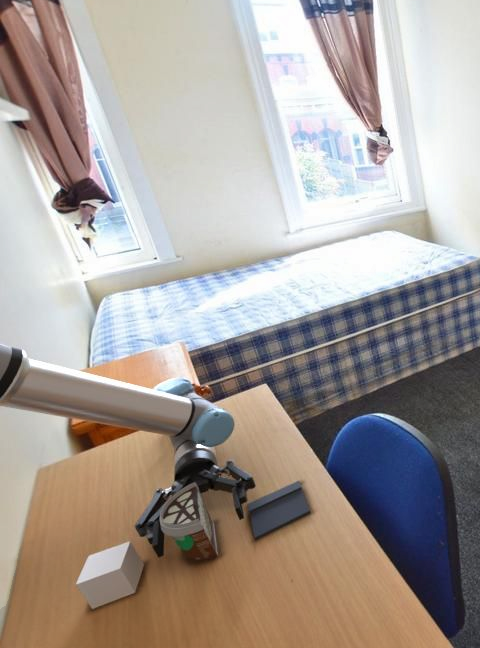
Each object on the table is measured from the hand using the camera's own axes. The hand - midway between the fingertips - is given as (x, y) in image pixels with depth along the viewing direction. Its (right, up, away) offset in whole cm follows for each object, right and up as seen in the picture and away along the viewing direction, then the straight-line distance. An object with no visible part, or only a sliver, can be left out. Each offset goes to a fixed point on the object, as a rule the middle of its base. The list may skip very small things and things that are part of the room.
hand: (200, 531), depth 82 cm
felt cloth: (+8, -1, +11) cm, 14 cm away
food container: (-3, -5, +4) cm, 8 cm away
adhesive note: (-13, -9, -1) cm, 16 cm away
